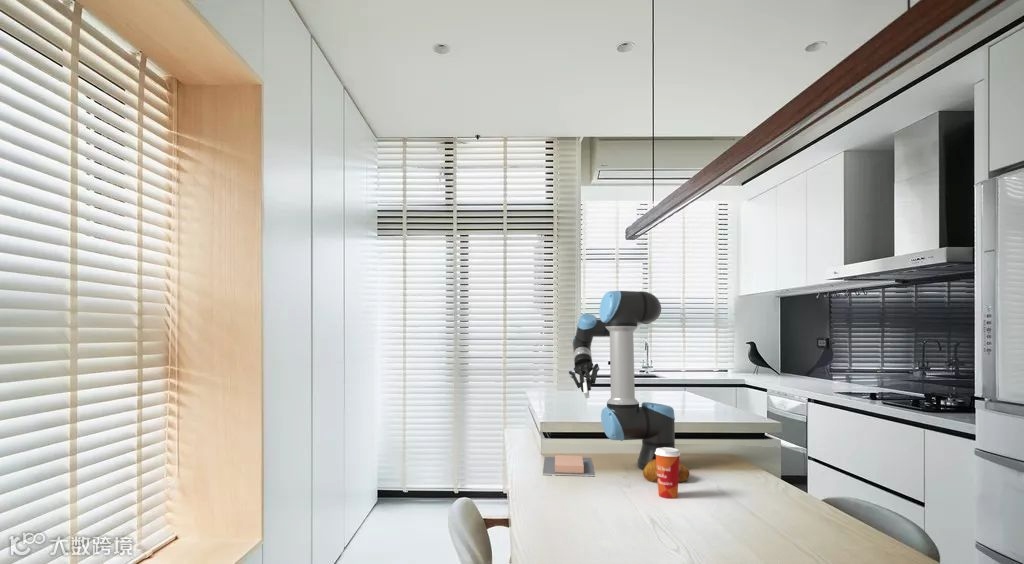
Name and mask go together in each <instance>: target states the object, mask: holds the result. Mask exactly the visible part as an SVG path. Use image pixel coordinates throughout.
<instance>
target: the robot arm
mask: <svg viewBox="0 0 1024 564" xmlns="http://www.w3.org/2000/svg"><path fill="white" fill-rule="evenodd" d="M598 310H599V311H598V312H599V318H597V316H595V314H590V313H587V312H586V313H582V314H581V315H580V317H579V319H578V322H577V328H576V332H575V336H573V338H572V347H573V348H572V350H573V362H574V368H573V370H572V371H571V370H570V371H568V375H569V376H570V378H571V379H573V382H574V383H575V385H576V387H577V389H580V390H581V393H583V395H584V398H585V399H589V398H590V391H592V385H595V384H596V381H597V376H598V373H599V371H600V367H599V366H600V365H599V364H598V363H595V364H594V363H593V359H592V351H591V350H592V349H591V348H592V347H591V346H592V342H593V339H594V338H595V337H599V338H601V337H603V338H605V337H606V338H607V337H608V338H609V361H610V362H609V363H610V365H609V367H610V368H609V369H610V370H609V371H610V372H609V373H610V398H609V399H608V400H607V401H606V407H603V408H602V409H601V413H600V418H601V419H600V420H601V421H600V422H601V426H602V429H603V432H604V434H605V435H606V437H607V438H608V439H609V440H612V441H620V442H624V441H636V440H637V441H638V440H639V441H641V443H642V444H641V448H640V451H639V456H638V458H637V468H639V469H640V470H642V471H643V470H644V468H645V467H646V465H647V464H648V463H649V462H650V461H651V460H654V459H656V454H655V452H656V449H657V448H664V447H668V448H675V449H676V446H675V445H676V442H675V435H676V434H675V432H676V431H675V428H676V427H675V421H676V418H675V411H674V408H673V407H672V406H671V405H667V404H661V403H655V402H654V403H653V402H646V401H644V402H642V403H641V406H640V402H639V401H638V399H636V395H635V393H636V392H635V357H634V355H635V353H634V351H635V350H634V347H635V346H634V345H635V344H634V332H635V330H636V329H638V327H639V326H641V325H648V324H650V323H654V321H657V319H658V318H660V317H661V316H660V315H661V314H662V305H661V302H660V300H659V299H658V297H657V296H656V295H654V294H653V293H652V292H649V291H648V292H647V291H643V290H642V291H635V290H633V291H631V290H612V291H611V290H609V291H607V292H605V293H604V295H603V296H602V298H601V300H600V305H599V309H598ZM576 374H577V375H579V380H578V379H577V377H576Z"/></svg>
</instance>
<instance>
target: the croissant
mask: <svg viewBox="0 0 1024 564" xmlns="http://www.w3.org/2000/svg"><path fill="white" fill-rule="evenodd" d="M690 474H691V473H690V470H689V468H688V467H686V465H683V464H682V463H681V462H680V461H679V476H678V483H682V482H683V483H684V482H686V481H688V479H689V477H690ZM642 476H643V477H644V479H645V480H646V481H647V482H650V483H658V480H657V465H656V459H654V460H651V461H650V462H649V463H648V464H647V465H646V467H645V468H644V470H643V469H642Z"/></svg>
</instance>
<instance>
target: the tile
mask: <svg viewBox="0 0 1024 564" xmlns="http://www.w3.org/2000/svg"><path fill="white" fill-rule="evenodd" d="M554 457H555V472H556V473H584V465H583V459H582V458H583V455H566V454H565V455H563V454H562V455H561V454H555V456H554Z"/></svg>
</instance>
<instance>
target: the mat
mask: <svg viewBox="0 0 1024 564" xmlns="http://www.w3.org/2000/svg"><path fill="white" fill-rule="evenodd" d="M543 459H544V460H543V468H542V475H549V476H552V475H555V476H557V477H559V476H560V477H562V476H563V477H579V476H586V477H588V478H589V477H592V478H593V477H596V473H595V470H594V465H593V461H592V457H582V459H583V465H584V473H556V472H555V456H544V458H543ZM552 477H553V476H552Z"/></svg>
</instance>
